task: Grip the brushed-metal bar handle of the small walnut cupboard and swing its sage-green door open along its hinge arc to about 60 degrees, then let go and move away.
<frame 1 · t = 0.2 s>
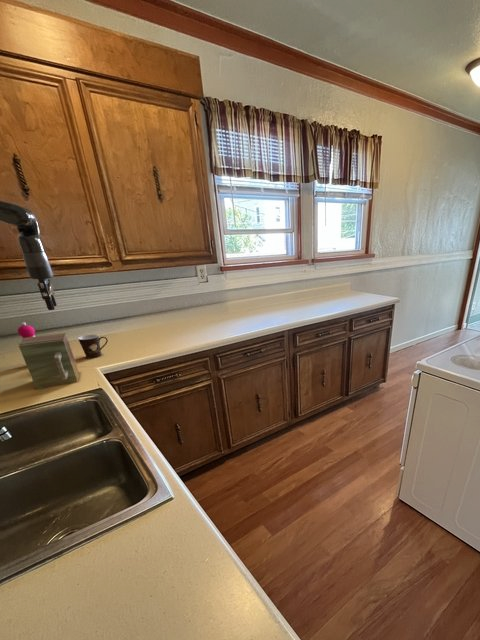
hand: (52, 307, 133), 28 cm above the worktop, tool pointing down, fingers open, 8 cm apart
cupboard: (59, 380, 136), on the worktop
cupboard door: (48, 367, 125), point 9 cm above the worktop, hinge at 0.0°
coffee mug: (97, 356, 163), on the worktop
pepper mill: (39, 364, 153), on the worktop
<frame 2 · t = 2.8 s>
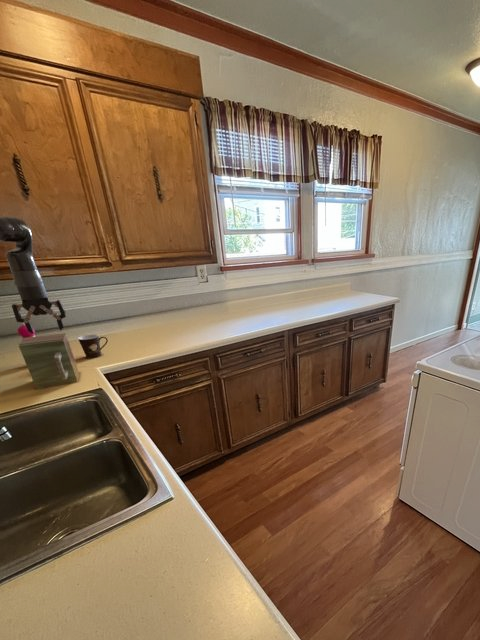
hand: (47, 331, 117), 23 cm above the worktop, tool pointing down, fingers open, 8 cm apart
nothing on the worktop moved.
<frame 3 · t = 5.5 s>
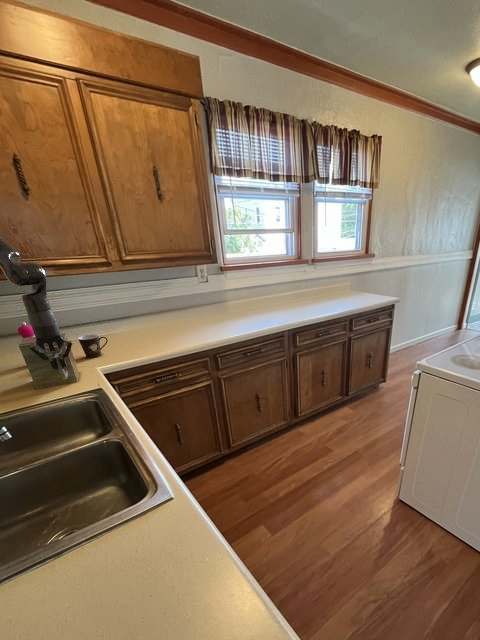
hand: (60, 368, 124), 9 cm above the worktop, tool pointing down, fingers closed on cupboard door
cupboard door: (48, 367, 125), point 9 cm above the worktop, hinge at 0.0°, touching gripper
everything else where it was.
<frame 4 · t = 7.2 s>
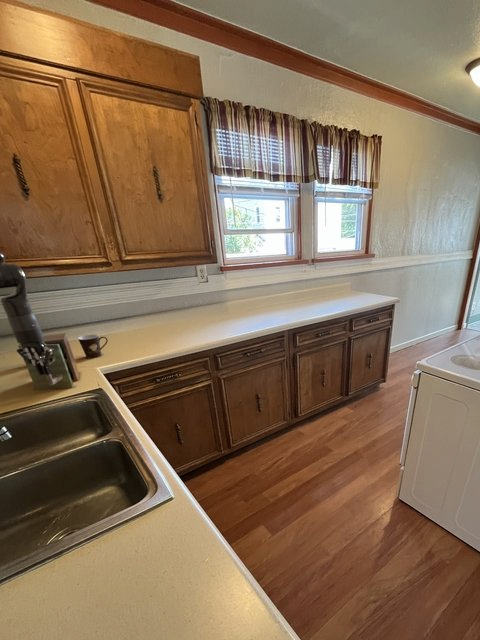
hand: (45, 374, 119), 9 cm above the worktop, tool pointing down, fingers closed on cupboard door, 2 cm apart
cupboard door: (41, 370, 122), point 9 cm above the worktop, hinge at 24.5°, touching gripper
everything else where it was.
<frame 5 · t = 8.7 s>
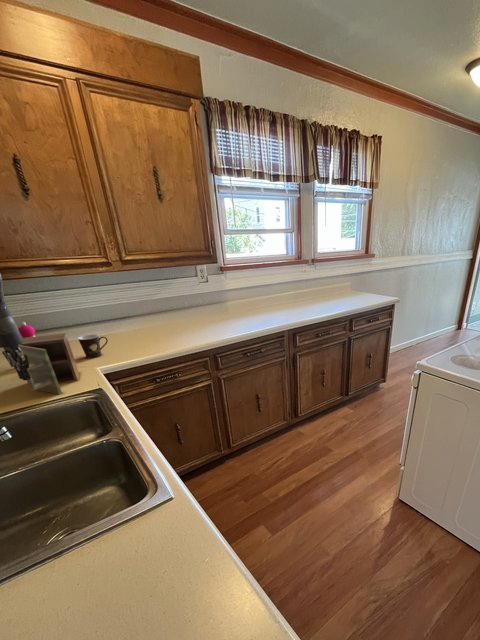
hand: (25, 378, 115), 9 cm above the worktop, tool pointing down, fingers closed on cupboard door, 2 cm apart
cupboard door: (30, 373, 119), point 9 cm above the worktop, hinge at 50.2°, touching gripper
everything else where it was.
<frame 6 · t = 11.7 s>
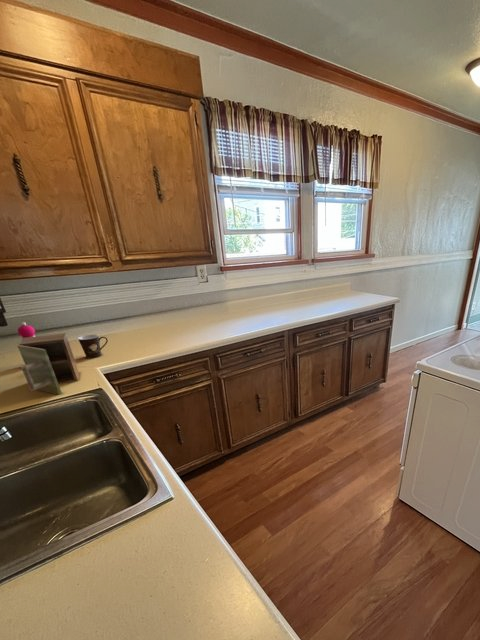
cupboard door: (30, 373, 119), point 9 cm above the worktop, hinge at 50.6°
everything else where it was.
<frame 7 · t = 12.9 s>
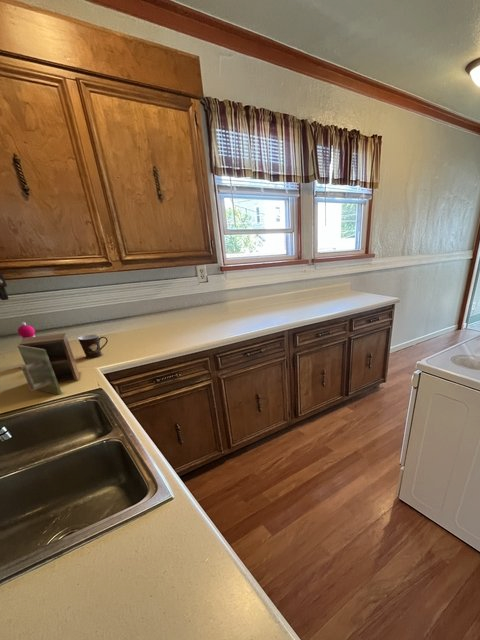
nothing on the worktop moved.
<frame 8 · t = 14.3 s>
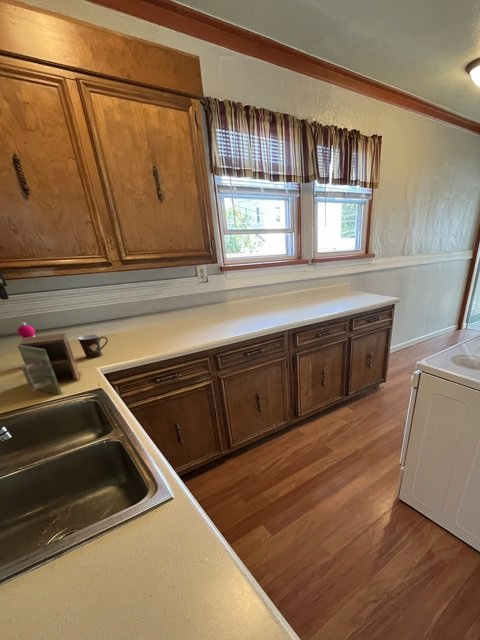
nothing on the worktop moved.
at the end: cupboard door at +51° (first picture: +0°); the gripper is holding nothing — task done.
